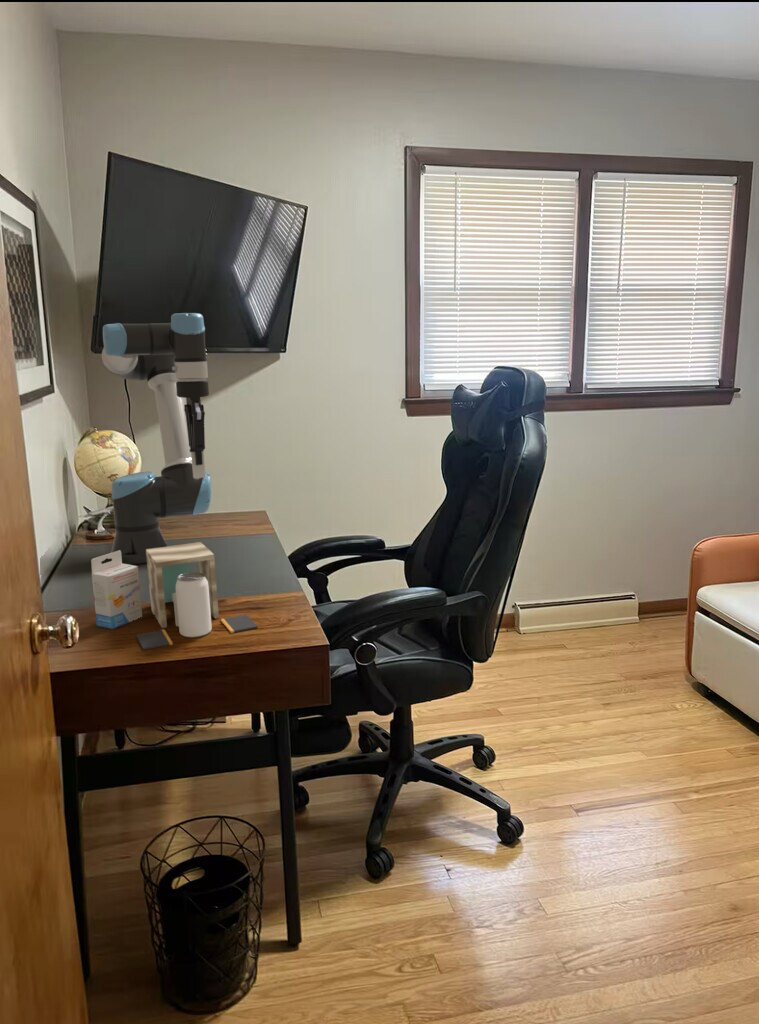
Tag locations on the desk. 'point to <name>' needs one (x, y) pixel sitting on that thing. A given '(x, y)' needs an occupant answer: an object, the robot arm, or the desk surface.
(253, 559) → the desk surface
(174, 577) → the slider
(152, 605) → the tunnel
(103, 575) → the ink box
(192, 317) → the robot arm
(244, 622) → the mats
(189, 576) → the can
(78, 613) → the desk surface
